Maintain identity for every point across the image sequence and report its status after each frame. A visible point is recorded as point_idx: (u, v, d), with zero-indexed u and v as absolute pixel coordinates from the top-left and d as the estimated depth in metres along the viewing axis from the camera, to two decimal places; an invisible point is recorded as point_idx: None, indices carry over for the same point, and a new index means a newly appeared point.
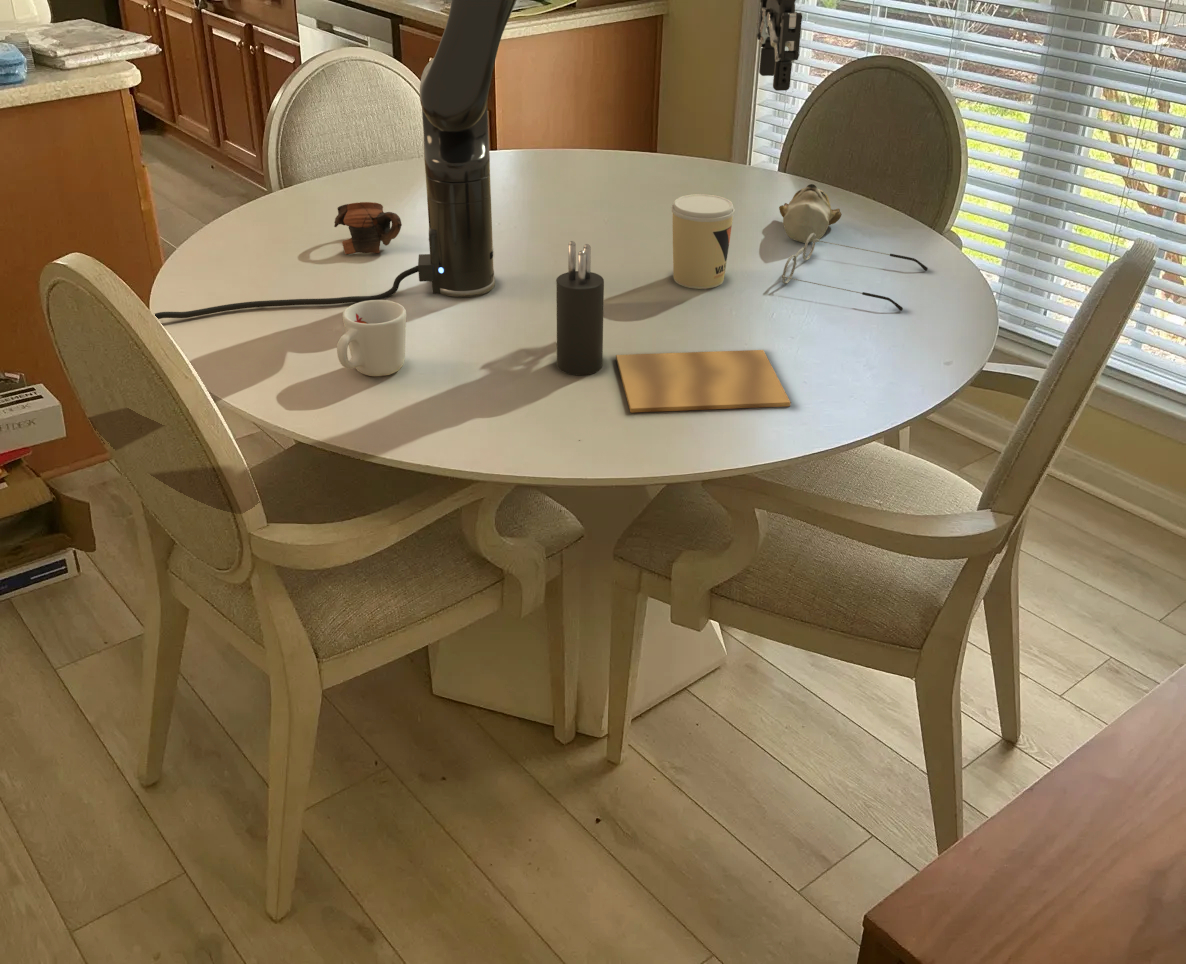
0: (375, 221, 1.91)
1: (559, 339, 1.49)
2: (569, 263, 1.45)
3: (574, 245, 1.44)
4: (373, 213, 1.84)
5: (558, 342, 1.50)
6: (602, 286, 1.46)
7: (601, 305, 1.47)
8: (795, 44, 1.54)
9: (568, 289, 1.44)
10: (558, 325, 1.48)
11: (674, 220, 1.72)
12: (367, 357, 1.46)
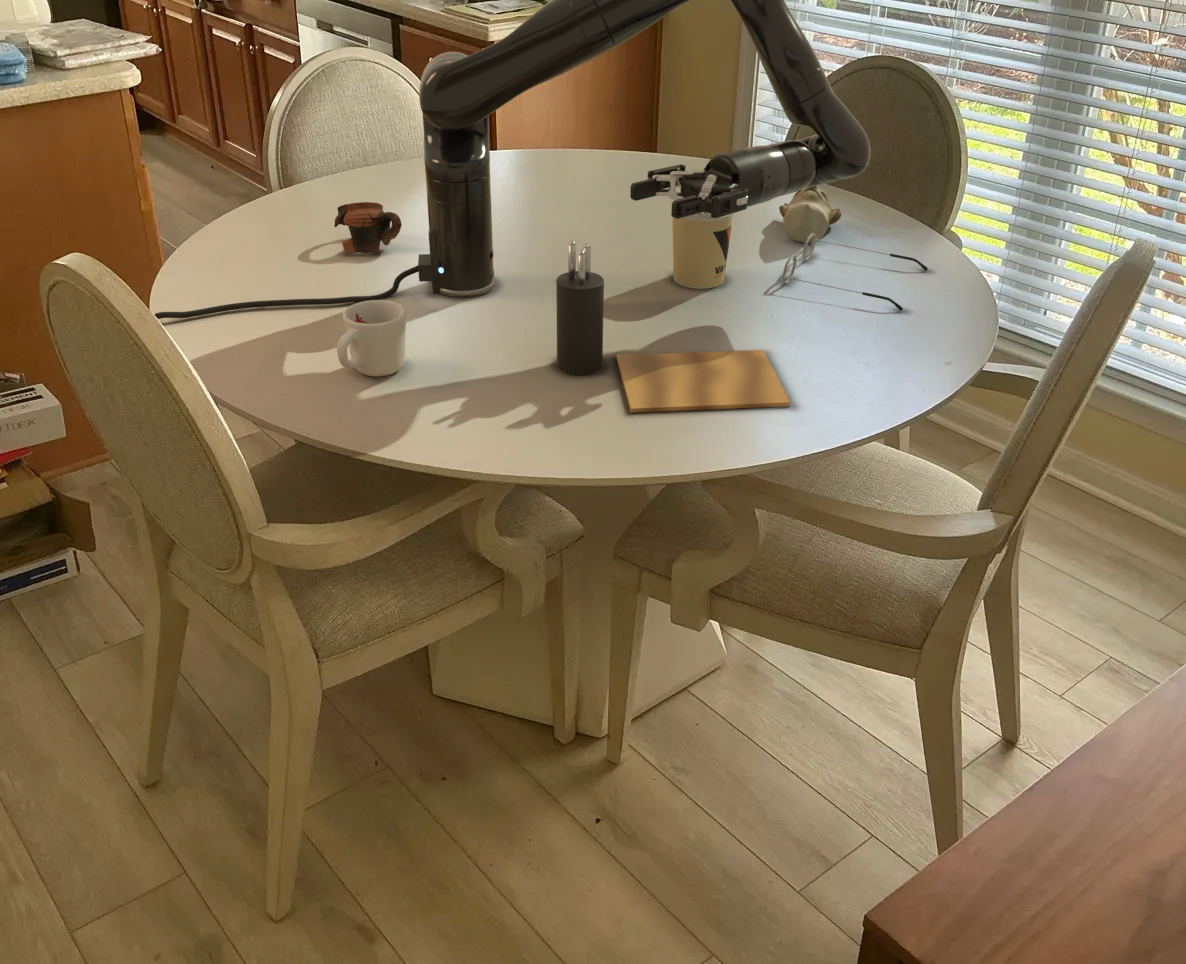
0: (375, 221, 1.91)
1: (559, 339, 1.49)
2: (569, 263, 1.45)
3: (574, 245, 1.44)
4: (373, 213, 1.84)
5: (558, 342, 1.50)
6: (602, 286, 1.46)
7: (601, 305, 1.47)
8: (724, 210, 1.47)
9: (568, 289, 1.44)
10: (558, 325, 1.48)
11: (674, 220, 1.72)
12: (367, 357, 1.46)
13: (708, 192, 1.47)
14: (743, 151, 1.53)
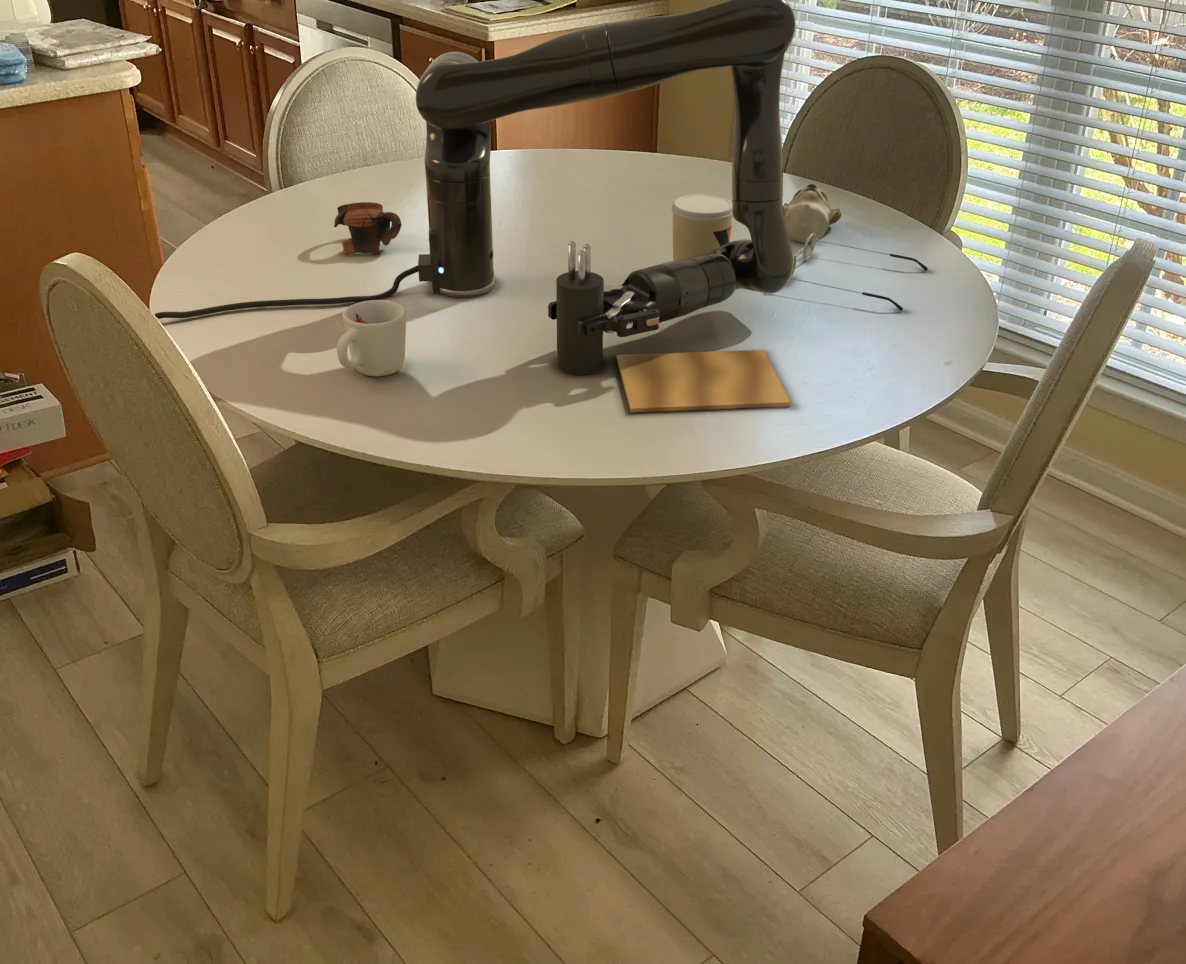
0: (375, 221, 1.91)
1: (559, 339, 1.49)
2: (569, 263, 1.45)
3: (574, 245, 1.44)
4: (373, 213, 1.84)
5: (558, 342, 1.50)
6: (602, 286, 1.46)
7: (601, 305, 1.47)
8: (632, 330, 1.47)
9: (568, 289, 1.44)
10: (558, 325, 1.48)
11: (674, 220, 1.72)
12: (367, 357, 1.46)
13: (616, 311, 1.47)
14: (662, 267, 1.53)
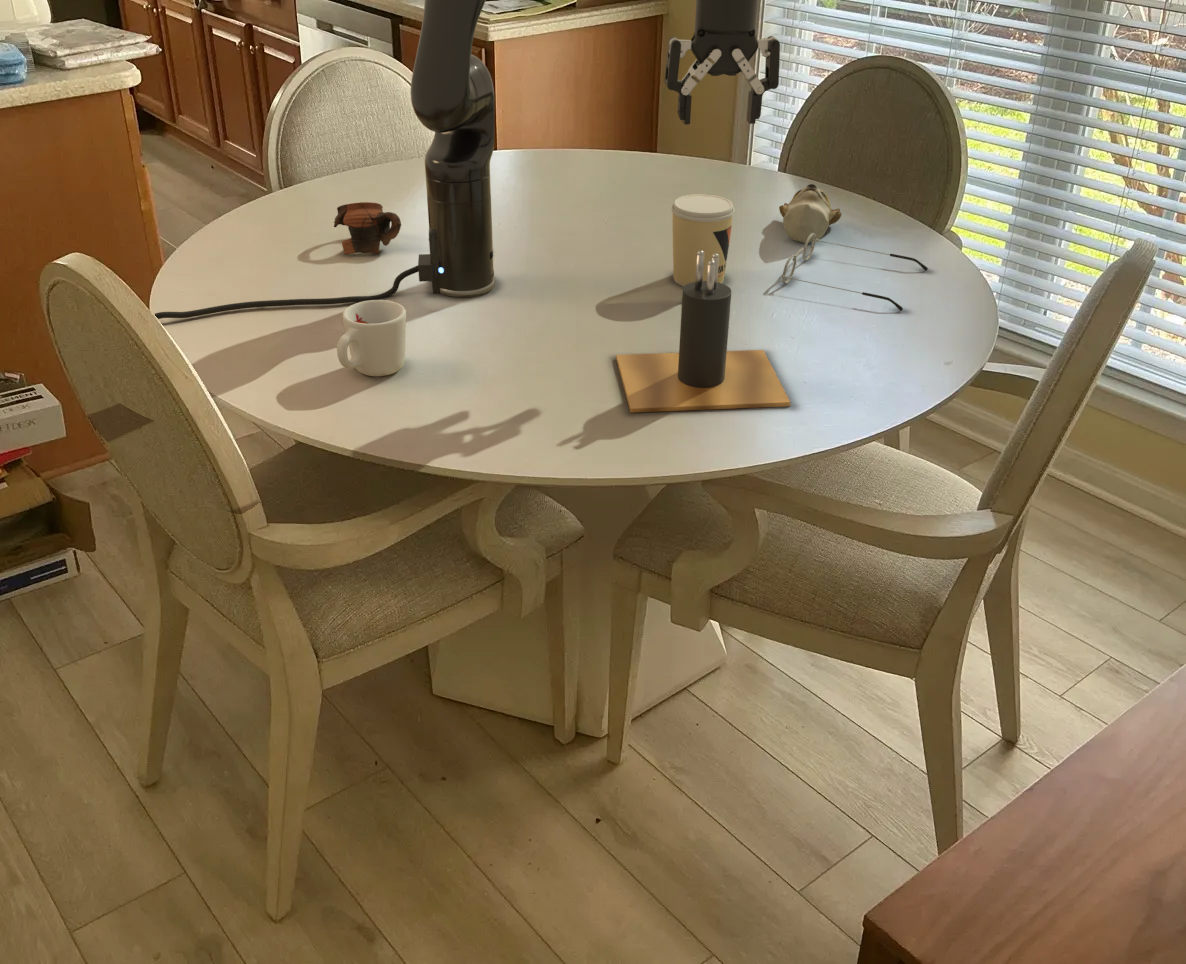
0: (374, 221, 1.91)
1: (684, 351, 1.45)
2: (697, 273, 1.41)
3: (703, 255, 1.40)
4: (373, 213, 1.84)
5: (681, 354, 1.46)
6: (730, 297, 1.42)
7: (728, 316, 1.43)
8: None
9: (697, 300, 1.40)
10: (682, 336, 1.44)
11: (674, 220, 1.72)
12: (367, 357, 1.46)
13: (757, 80, 1.46)
14: (734, 3, 1.38)
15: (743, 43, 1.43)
